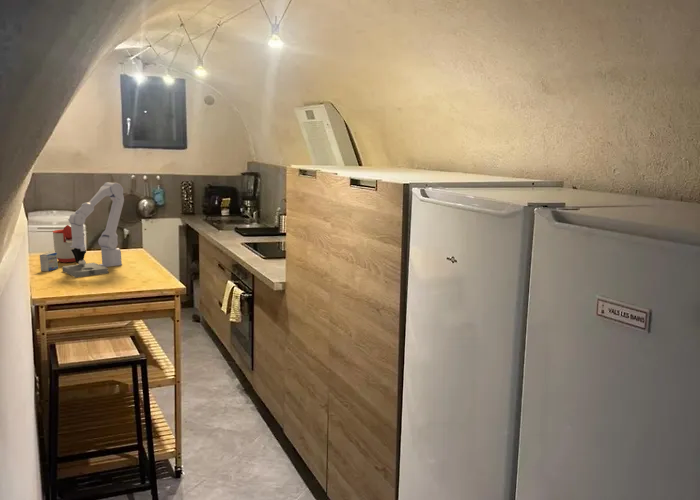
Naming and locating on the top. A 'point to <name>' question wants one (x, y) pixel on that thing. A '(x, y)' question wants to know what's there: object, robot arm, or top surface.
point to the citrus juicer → (63, 244)
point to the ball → (82, 262)
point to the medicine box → (48, 261)
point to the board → (85, 270)
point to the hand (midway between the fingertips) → (79, 263)
